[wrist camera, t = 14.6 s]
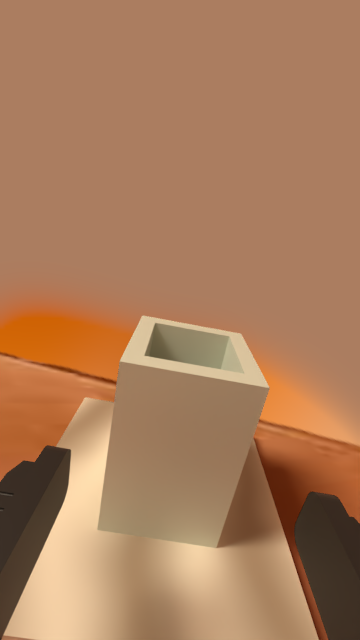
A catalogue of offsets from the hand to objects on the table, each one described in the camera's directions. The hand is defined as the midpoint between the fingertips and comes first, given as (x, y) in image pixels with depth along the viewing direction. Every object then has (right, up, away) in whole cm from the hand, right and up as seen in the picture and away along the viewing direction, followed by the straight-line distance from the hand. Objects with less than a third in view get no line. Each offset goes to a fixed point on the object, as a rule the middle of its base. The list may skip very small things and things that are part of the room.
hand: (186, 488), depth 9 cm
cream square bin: (-1, -5, +8) cm, 10 cm away
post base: (-2, -6, +9) cm, 11 cm away
